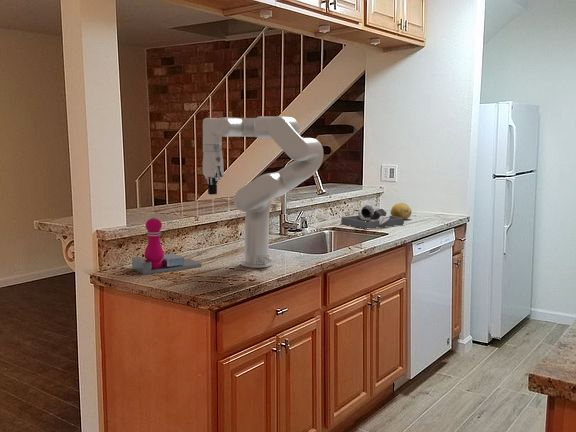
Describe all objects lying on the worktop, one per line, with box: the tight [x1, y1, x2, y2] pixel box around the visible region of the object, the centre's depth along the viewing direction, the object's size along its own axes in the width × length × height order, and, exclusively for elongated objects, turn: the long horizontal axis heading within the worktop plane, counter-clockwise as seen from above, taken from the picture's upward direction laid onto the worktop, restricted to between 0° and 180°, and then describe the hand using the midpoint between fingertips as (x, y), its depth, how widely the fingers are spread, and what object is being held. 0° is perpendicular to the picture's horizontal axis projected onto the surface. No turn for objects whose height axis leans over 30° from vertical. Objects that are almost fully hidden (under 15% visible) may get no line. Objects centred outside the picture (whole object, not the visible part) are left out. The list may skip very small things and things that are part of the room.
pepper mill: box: [144, 214, 165, 268], centre depth 224 cm, size 7×7×20 cm
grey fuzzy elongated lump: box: [357, 205, 391, 225], centre depth 337 cm, size 25×10×10 cm, turn 26°
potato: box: [390, 202, 413, 220], centre depth 360 cm, size 10×12×10 cm
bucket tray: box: [340, 215, 405, 230], centre depth 339 cm, size 21×29×4 cm
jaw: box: [161, 252, 185, 267], centre depth 230 cm, size 9×7×3 cm
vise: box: [131, 256, 203, 276], centre depth 229 cm, size 11×24×4 cm, turn 126°
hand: (212, 194), depth 241 cm, fingers closed
